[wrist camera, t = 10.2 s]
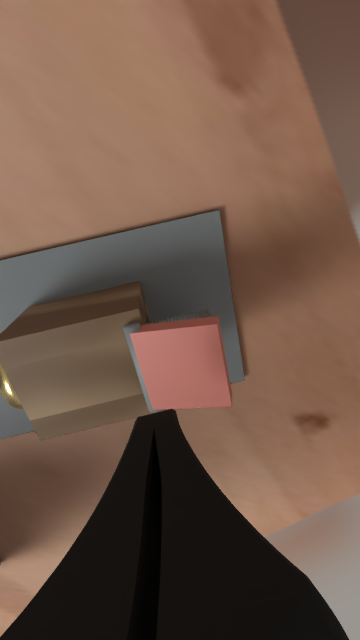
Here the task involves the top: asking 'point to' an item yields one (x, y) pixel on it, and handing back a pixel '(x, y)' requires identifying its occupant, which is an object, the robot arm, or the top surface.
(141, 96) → the top surface
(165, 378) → the strip
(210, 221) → the mat
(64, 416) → the block
